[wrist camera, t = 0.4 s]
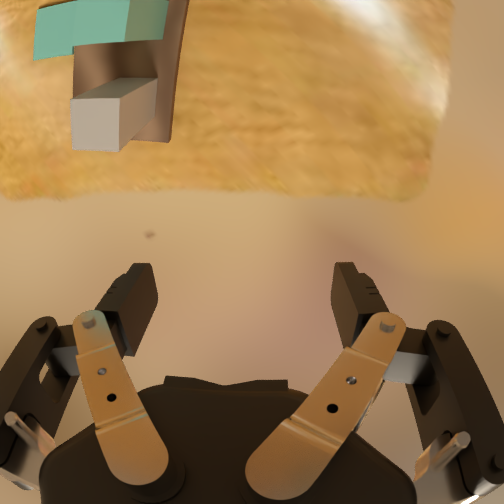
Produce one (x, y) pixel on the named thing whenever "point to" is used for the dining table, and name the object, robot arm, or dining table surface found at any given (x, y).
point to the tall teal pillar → (118, 21)
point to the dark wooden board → (138, 68)
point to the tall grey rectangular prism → (112, 113)
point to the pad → (54, 31)
